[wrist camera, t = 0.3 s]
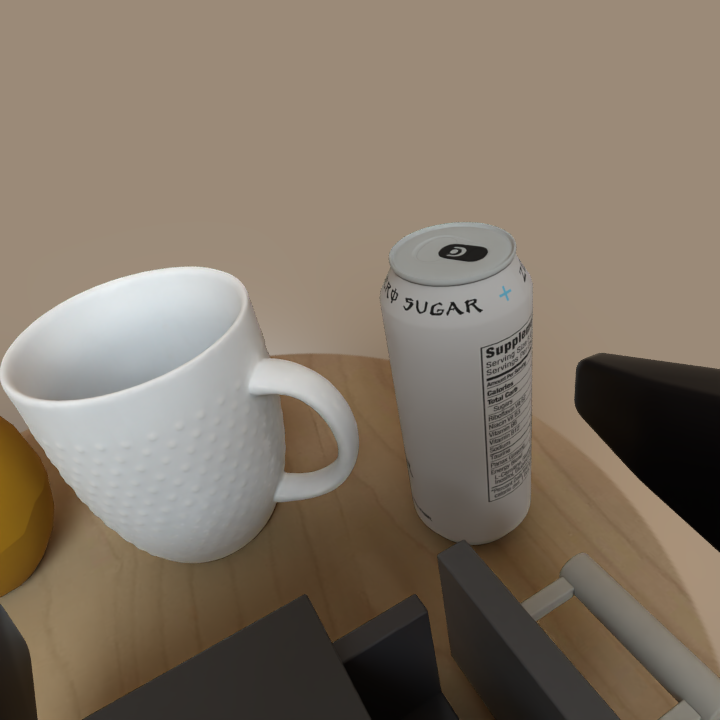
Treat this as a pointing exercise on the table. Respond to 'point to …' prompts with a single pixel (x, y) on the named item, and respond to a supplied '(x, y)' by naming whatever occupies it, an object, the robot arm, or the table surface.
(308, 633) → the dark grey open box
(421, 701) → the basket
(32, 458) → the apple
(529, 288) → the energy drink can
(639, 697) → the table surface
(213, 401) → the mug
